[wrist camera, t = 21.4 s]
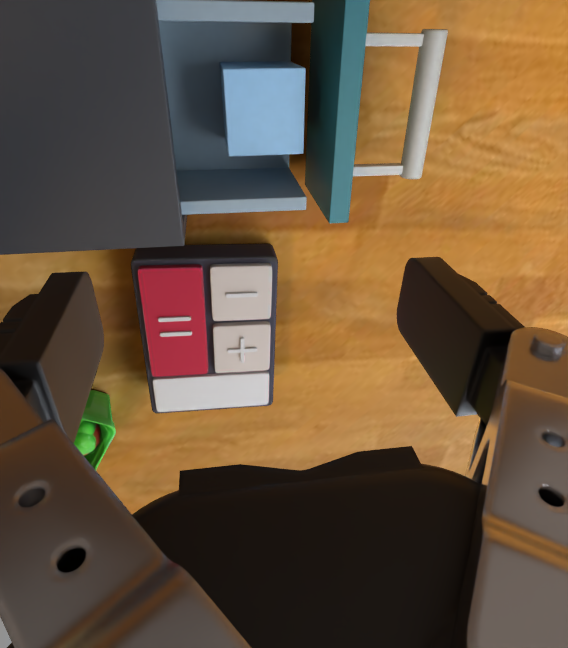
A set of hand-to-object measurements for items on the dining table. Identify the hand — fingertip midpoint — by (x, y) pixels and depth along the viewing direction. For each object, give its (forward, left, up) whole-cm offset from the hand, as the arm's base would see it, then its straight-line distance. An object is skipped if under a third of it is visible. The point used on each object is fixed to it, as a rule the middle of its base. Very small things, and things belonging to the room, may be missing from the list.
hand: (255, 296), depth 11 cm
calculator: (-16, +2, -24) cm, 29 cm away
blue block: (+2, -2, -22) cm, 22 cm away
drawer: (+2, -3, -23) cm, 23 cm away
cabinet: (+2, +10, -24) cm, 26 cm away
